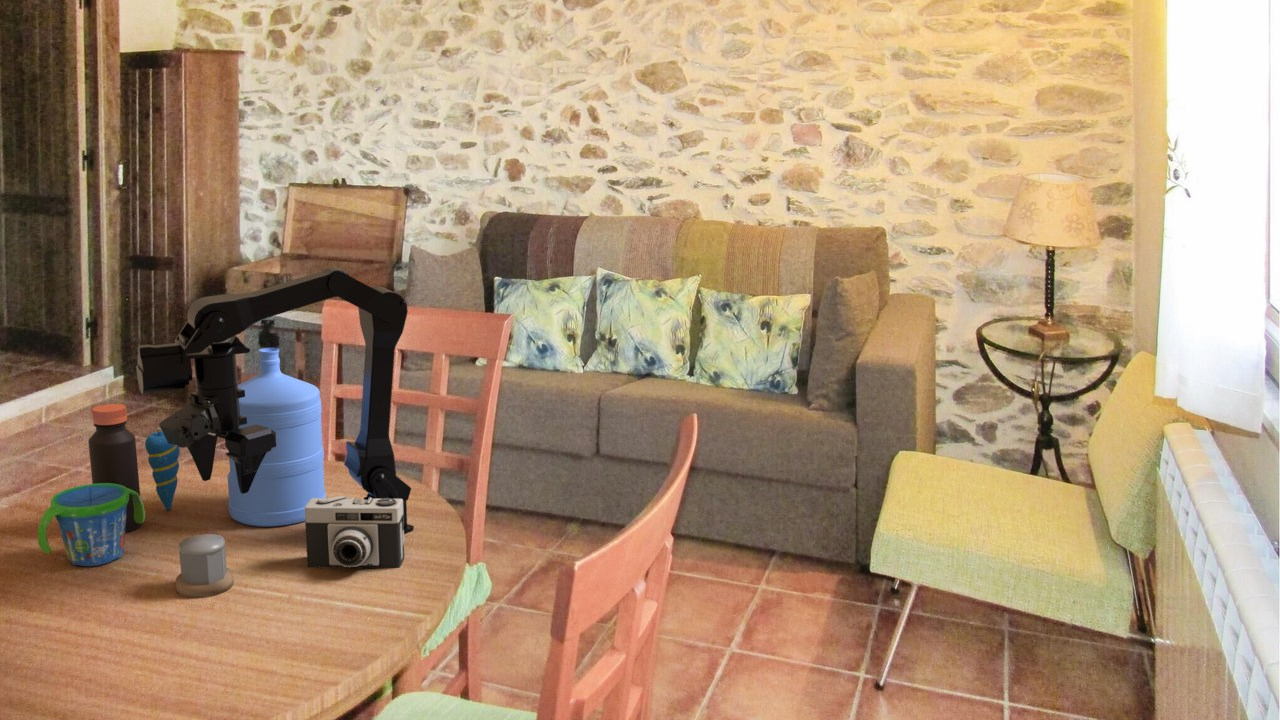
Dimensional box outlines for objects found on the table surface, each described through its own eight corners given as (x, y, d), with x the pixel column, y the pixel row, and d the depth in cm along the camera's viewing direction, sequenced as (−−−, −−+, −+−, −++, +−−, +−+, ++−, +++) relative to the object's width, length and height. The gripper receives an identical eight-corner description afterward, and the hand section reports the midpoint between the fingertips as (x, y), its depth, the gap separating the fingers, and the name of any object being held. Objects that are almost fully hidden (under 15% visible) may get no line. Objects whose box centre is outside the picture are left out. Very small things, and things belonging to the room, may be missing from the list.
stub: (212, 570, 164) (210, 537, 163) (244, 584, 160) (242, 549, 158) (165, 588, 158) (162, 553, 157) (197, 602, 154) (194, 566, 152)
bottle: (144, 517, 184) (134, 400, 179) (140, 532, 178) (130, 411, 173) (99, 521, 182) (88, 403, 177) (93, 536, 176) (82, 414, 171)
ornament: (171, 516, 184) (164, 430, 181) (144, 513, 185) (136, 427, 182) (190, 506, 189) (183, 421, 186) (162, 503, 190) (156, 419, 187)
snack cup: (57, 584, 158) (50, 517, 156) (27, 564, 165) (19, 499, 163) (163, 552, 170) (158, 489, 168) (130, 534, 177) (125, 474, 174)
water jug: (345, 507, 190) (339, 347, 184) (271, 535, 177) (261, 365, 171) (284, 489, 198) (275, 335, 192) (209, 515, 185) (197, 351, 179)
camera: (298, 578, 162) (295, 513, 160) (313, 555, 170) (310, 494, 168) (395, 579, 163) (393, 514, 160) (405, 556, 171) (403, 494, 168)
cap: (235, 574, 159) (233, 540, 158) (198, 588, 154) (195, 554, 153) (210, 564, 162) (208, 530, 161) (173, 577, 158) (170, 543, 156)
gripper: (128, 386, 160) (138, 488, 164) (206, 407, 150) (215, 516, 153) (197, 371, 169) (205, 468, 173) (275, 390, 159) (282, 493, 162)
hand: (225, 486), depth 165 cm, fingers open, 9 cm apart
